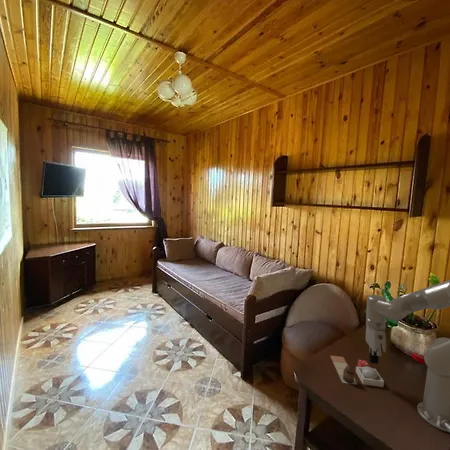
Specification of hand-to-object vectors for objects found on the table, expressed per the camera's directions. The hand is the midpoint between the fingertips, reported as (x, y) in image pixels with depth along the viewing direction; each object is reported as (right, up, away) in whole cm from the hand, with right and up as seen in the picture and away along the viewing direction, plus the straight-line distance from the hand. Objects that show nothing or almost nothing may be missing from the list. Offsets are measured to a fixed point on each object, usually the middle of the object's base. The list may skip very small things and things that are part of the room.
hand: (373, 362), depth 113 cm
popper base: (-1, -9, +5) cm, 10 cm away
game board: (-10, -8, +8) cm, 16 cm away
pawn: (-11, -8, +1) cm, 14 cm away
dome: (-1, -9, +2) cm, 9 cm away
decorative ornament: (+38, -9, +20) cm, 44 cm away
